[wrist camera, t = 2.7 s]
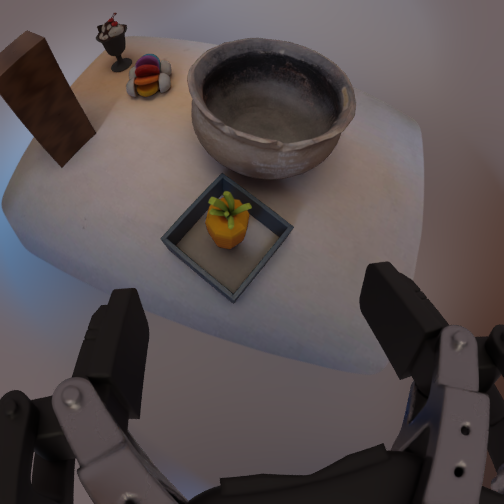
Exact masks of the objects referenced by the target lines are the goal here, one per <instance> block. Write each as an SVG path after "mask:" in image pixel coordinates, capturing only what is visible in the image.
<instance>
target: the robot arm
mask: <svg viewBox="0 0 504 504" xmlns="http://www.w3.org/2000/svg"><path fill="white" fill-rule="evenodd" d="M359 303H360V309H361V312H362V314H363V316H364V317H365V319H366V321H367V323H368V324H369V326H370V328H371V329H372V331H373V333H374V335H375V336H376V338H377V340H378V341H379V343H380V345H381V347H382V348H383V350H384V352H385V354H386V356H387V357H388V359H389V361H390V363H391V364H392V366H393V368H394V370H395V372H396V374H397V375H398V377H399V379H400V380H401V379H404V378H407V377H410V376H412V378H413V379H414V381H413V382H412V384H411V388H410V393H409V398H408V402H407V407H406V411H405V416H404V420H403V424H402V428H401V431H400V433H399V435H398V436H397V438H396V440H395V442H394V444H393V446H392V449H391V451H386V449H385V446H384V444H383V443H382V444H380V445H377V446H375V447H371V448H369V449H365V450H362V451H359V452H356V453H353V454H350V455H347V456H345V457H344V458H342V459H340V460H338V461H336V462H335V463H333V464H331V465H329V466H327V467H325V468H323V469H321V470H319V471H317V472H315V473H313V474H311V475H276V474H257V475H249V476H240V477H230V478H220V484H221V485H220V486H217V487H214V488H211V489H209V490H206V491H204V492H202V493H200V494H198V495H197V496H195V497H194V498H192V499H191V500H189V501H188V500H187V499H186V498H185V497H184V496H183V495H182V494H181V493H180V492H179V491H178V490H177V489H176V487H175V486H174V485H173V484H172V483H170V481H169V480H168V479H167V478H166V477H165V476H164V475H163V474H162V473H161V472H160V471H159V470H158V468H157V467H156V466H155V465H154V464H153V462H152V461H151V460H150V459H149V457H148V456H147V455H146V453H145V452H144V451H143V449H142V448H141V447H140V446H139V444H138V443H137V442H136V440H135V439H134V438H133V436H132V435H131V433H130V432H129V430H128V419H140V409H141V399H142V389H143V380H144V372H145V364H146V357H147V349H148V342H149V327H148V322H147V319H146V316H145V313H144V310H143V307H142V304H141V301H140V298H139V295H138V292H137V290H136V289H135V288H126V289H114V290H113V291H112V294H111V297H110V300H109V303H108V305H101V306H100V308H99V309H98V310H97V311H96V312H95V313H94V314H93V316H92V318H91V321H90V323H89V326H88V330H87V332H86V335H85V337H84V338H85V340H83V343H82V346H81V349H80V352H79V356H78V359H77V362H76V366H75V369H74V372H73V375H72V378H69V379H66V380H64V381H63V382H62V383H60V384H59V385H58V386H57V388H56V389H55V391H54V393H53V395H52V396H49V397H44V398H39V399H35V400H30V399H29V398H28V397H27V396H26V395H25V394H24V393H23V392H21V391H18V390H14V391H10V392H8V393H6V394H5V395H4V396H3V397H2V398H1V399H0V504H73V493H74V492H73V491H74V468H75V458H76V459H77V461H78V463H79V465H80V468H79V469H77V474H78V477H79V479H80V481H81V483H82V485H83V487H84V488H85V490H86V492H87V493H88V495H89V497H90V498H91V500H92V501H93V503H94V504H504V400H503V398H502V396H501V395H500V393H499V391H498V390H497V388H496V386H495V384H494V383H495V382H496V381H497V379H498V378H499V377H500V376H501V374H502V376H503V377H504V325H496V326H495V327H494V328H493V330H492V331H491V333H490V335H489V336H488V337H474V336H473V334H472V333H471V332H470V331H469V330H467V329H466V328H464V327H462V326H459V325H449V324H448V323H447V322H446V320H445V319H444V318H443V317H442V315H441V314H440V313H439V311H438V310H437V309H436V308H435V307H434V305H433V304H432V303H431V302H430V300H429V299H427V297H426V296H425V294H424V293H423V292H421V291H420V288H419V287H418V286H417V285H416V284H415V283H414V281H413V280H411V279H410V278H408V277H407V276H405V275H403V274H402V273H399V272H398V271H397V270H396V268H395V267H394V266H393V265H392V264H391V263H390V262H388V261H387V262H379V263H372V264H369V265H368V266H367V269H366V273H365V277H364V282H363V286H362V290H361V294H360V300H359ZM487 450H488V452H489V454H490V457H491V459H492V461H493V464H494V467H495V469H496V472H497V476H496V477H494V478H493V480H492V482H491V488H492V489H493V490H494V491H493V490H491V489H488V488H486V487H484V486H482V482H483V476H484V469H485V462H486V454H487ZM34 452H35V457H34V464H33V473H32V485H31V468H32V460H33V453H34ZM496 490H498V492H496Z"/></svg>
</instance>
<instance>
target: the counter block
mask: <svg viewBox="0 0 504 504" xmlns="http://www.w3.org/2000/svg"><path fill="white" fill-rule="evenodd" d="M0 95H1V97H2V98H3V99H4V100H5V102H6V103H7V104H8V106H9V107H10V108H11V109H12V111H13V112H14V113H15V114H16V116H17V117H18V118H19V119H20V120H21V122H22V123H23V124H24V125H25V127H26V128H27V129H28V130H29V131H30V132H31V134H32V135H33V136H34V137H35V138H36V140H37V141H38V142H39V143H40V144H41V145H42V147H43V148H44V149H45V150H46V151H47V152H48V153H49V154H50V156H51V157H52V158H53V159H54V160H55V161H56V162H57V163H58V164H59V165H60V166H61V168H62V167H63V166H64V165H65V164H66V163H67V162H68V161H69V160H70V159H71V158H72V157H73V156H74V154H75V153H76V152H77V151H78V150H79V149H80V148H81V147H82V146H83V145H84V144H85V143H86V142H87V141H88V140H89V139H90V138H92V137H93V136H94V135H95V134H96V132H95V130H94V128H93V127H92V125H91V123H90V122H89V120H88V118H87V116H86V115H85V113H84V111H83V109H82V108H81V106H80V104H79V102H78V101H77V99H76V97H75V95H74V93H73V91H72V90H71V88H70V86H69V84H68V82H67V80H66V79H65V77H64V75H63V73H62V71H61V69H60V67H59V65H58V63H57V61H56V59H55V57H54V55H53V53H52V51H51V49H50V47H49V45H48V43H47V41H46V39H45V38H44V37H42V36H40V35H37V34H35V33H32V32H30V31H25V32H24V33H23V34H22V35H20V36H19V37H18V38H17V39H16V40H14V41H13V42H12V43H11V44H10V45H8V46H7V47H6V48H5V49H4V50H3V51H2V52H1V53H0Z"/></svg>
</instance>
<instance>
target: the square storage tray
mask: <svg viewBox="0 0 504 504" xmlns="http://www.w3.org/2000/svg"><path fill="white" fill-rule="evenodd" d="M225 191H228V192H230V193H231V194H232V196H233V198H234V199H236V200H240V202H241V203H242V204H246V203H250V205H251V207H252V208H251V209H249V210H247V211H248V213H249V214H251V215H252V216H253V217H255V218H256V219H257V220H258V221H260V222H261V223H262V224H264V225H265V226H266V227H267V228H269V229H270V230H271V231H273V232H274V233H275V234H276V235H278V236H279V237H280V238H279V239H278V240H277V241H276V243H275V244H274V245H273V246H272V248H271V249H270V250H269V251H268V253H267V254H266V255H265V256H264V257H263V259H262V260H261V261H260V262H259V264H258V265H257V266H256V267H255V269H254V270H253V271H252V272H251V273H250V275H249V276H248V277H247V278H246V280H245V281H244V282H243V283H242V284H241V286H240V287H239V288H238V289H237V290H236V292H235V293H234V294H233V293H232V292H230V291H229V290H228V289H227V288H225V287H224V286H223V285H222V284H221V283H219V282H218V281H217V280H216V279H214V278H213V277H212V276H211V275H210V274H208V273H207V272H206V271H205V270H204V269H202V268H201V267H200V266H199V265H198V264H196V263H195V262H194V261H193V260H192V259H190V258H189V257H188V256H187V255H186V254H185V253H183V252H182V251H181V250H180V249H179V248H178V247H176V246H175V245H176V244H177V243H178V242H179V241H180V240H181V239H182V237H183V236H184V235H185V234H186V233H187V232H188V231H189V230H190V229H191V227H192V226H193V225H194V224H195V223H196V222H197V221H198V220H199V219H200V217H201V216H202V215H203V214H204V213H205V212H206V211H207V210H208V209H209V206H210V205H211V204H209V203H208V202H209V199H210V198H211V197H215V198H219V197H220V196H221V195H222V194H223V193H224V192H225ZM293 228H294V227H293V226H292V225H291V224H289V223H288V222H287V221H286V220H284V219H283V218H282V217H280V216H279V215H278V214H277V213H275V212H274V211H273V210H271V209H270V208H269V207H267V206H266V205H265V204H263V203H262V202H261V201H260V200H258V199H257V198H256V197H254V196H253V195H252V194H250V193H249V192H248V191H246V190H245V189H244V188H242V187H241V186H239V185H238V184H237V183H235V182H234V181H233V180H231V179H230V178H229V177H227V176H226V175H225V174H223V173H221V175H220V176H219V177H218V178H217V179H216V180H215V181H214V182H213V183H212V184H211V185H210V186H209V187H208V188H207V189H206V190H205V191H204V192H203V193H202V194H201V195H200V196H199V197H198V198H197V199H196V200H195V201H194V202H193V204H192V205H191V206H190V207H189V208H188V209H187V210H186V211H185V212H184V213H183V214H182V215H181V216H180V218H179V219H178V220H177V221H176V222H175V223H174V224H173V225H172V226H171V227H170V229H169V230H168V231H167V232H166V233H165V234H164V235H163V236H162V237H161V240H162V241H163V243H164V244H165V245H166V247H167V248H168V249H169V250H170V251H171V252H172V253H173V254H175V255H176V256H177V257H178V258H179V259H180V260H182V261H183V262H184V263H185V264H186V265H187V266H189V267H190V268H191V269H192V270H193V271H194V272H196V273H197V274H198V275H199V276H200V277H202V278H203V279H204V280H205V281H206V282H208V283H209V284H210V285H211V286H212V287H214V288H215V289H216V290H217V291H218V292H220V293H221V294H222V295H223V296H225V297H226V298H227V299H228V300H230V301H231V302H232V303H233V304H234V303H235V301H236V300H237V299H238V298H239V296H240V295H241V294H242V293H243V292H244V290H245V289H246V288H247V287H248V285H249V284H250V283H251V282H252V280H253V279H254V278H255V277H256V276H257V274H258V273H259V272H260V271H261V269H262V268H263V267H264V266H265V264H266V263H267V262H268V261H269V259H270V258H271V257H272V256H273V254H274V253H275V252H276V251H277V250H278V248H279V247H280V246H281V245H282V243H283V242H284V241H285V239H286V238H287V237H288V235H289V234H290V232H291V231H292V229H293Z"/></svg>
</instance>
